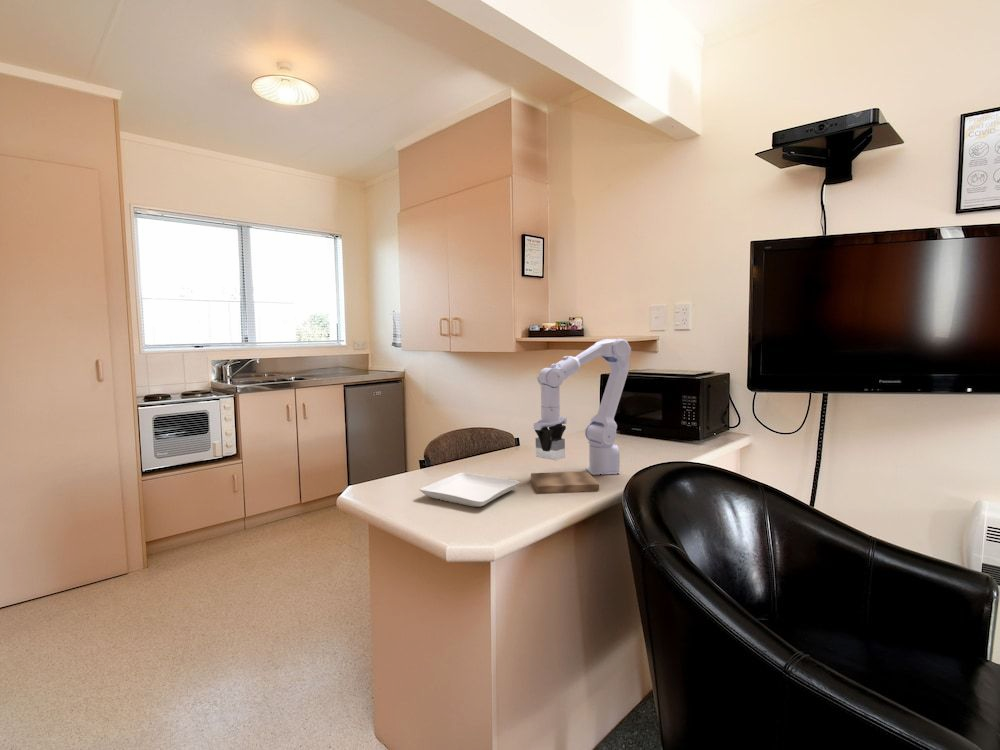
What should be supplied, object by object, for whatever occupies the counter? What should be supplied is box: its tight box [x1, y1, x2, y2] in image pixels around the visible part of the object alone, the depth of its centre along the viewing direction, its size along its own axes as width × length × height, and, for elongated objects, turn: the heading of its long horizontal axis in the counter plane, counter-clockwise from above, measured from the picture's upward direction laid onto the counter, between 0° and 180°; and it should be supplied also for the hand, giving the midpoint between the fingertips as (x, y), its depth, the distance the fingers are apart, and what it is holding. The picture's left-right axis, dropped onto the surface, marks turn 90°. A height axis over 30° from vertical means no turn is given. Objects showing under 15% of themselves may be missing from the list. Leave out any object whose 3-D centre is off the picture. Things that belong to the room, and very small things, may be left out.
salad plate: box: [419, 472, 520, 508], centre depth 141 cm, size 21×21×3 cm
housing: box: [535, 437, 566, 462], centre depth 155 cm, size 4×8×6 cm, turn 47°
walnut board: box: [530, 470, 600, 494], centre depth 149 cm, size 18×14×2 cm
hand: (550, 449), depth 155 cm, fingers closed on housing, 4 cm apart
